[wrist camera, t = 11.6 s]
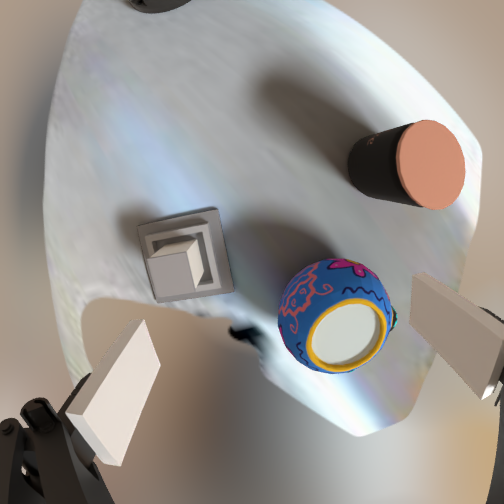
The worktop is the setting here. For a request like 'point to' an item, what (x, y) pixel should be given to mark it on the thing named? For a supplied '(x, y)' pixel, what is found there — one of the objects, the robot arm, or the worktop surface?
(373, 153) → the coffee jar
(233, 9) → the worktop surface
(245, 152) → the worktop surface
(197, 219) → the socket plate
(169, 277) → the plug block
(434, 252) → the worktop surface
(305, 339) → the ceramic pot
